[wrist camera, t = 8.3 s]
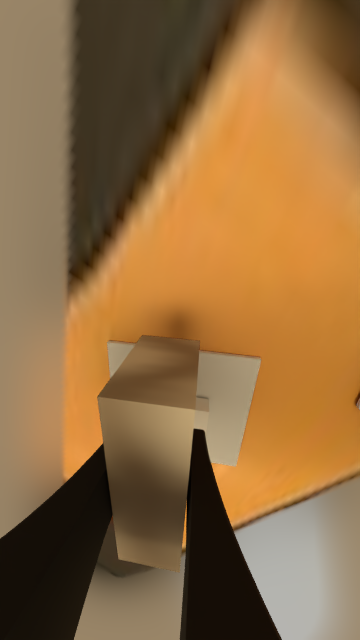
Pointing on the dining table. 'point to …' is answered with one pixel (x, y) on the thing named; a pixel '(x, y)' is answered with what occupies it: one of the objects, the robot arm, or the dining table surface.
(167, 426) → the wooden bar
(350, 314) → the dining table surface
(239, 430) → the mat
